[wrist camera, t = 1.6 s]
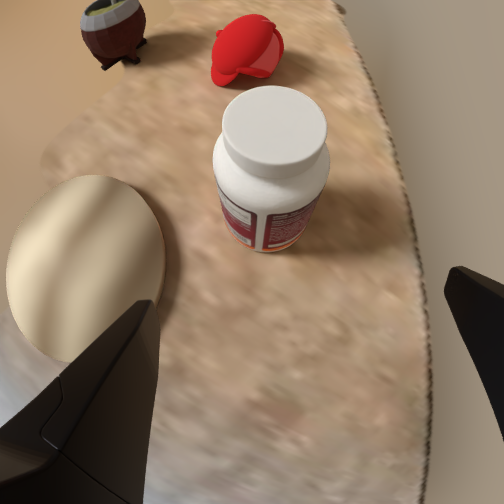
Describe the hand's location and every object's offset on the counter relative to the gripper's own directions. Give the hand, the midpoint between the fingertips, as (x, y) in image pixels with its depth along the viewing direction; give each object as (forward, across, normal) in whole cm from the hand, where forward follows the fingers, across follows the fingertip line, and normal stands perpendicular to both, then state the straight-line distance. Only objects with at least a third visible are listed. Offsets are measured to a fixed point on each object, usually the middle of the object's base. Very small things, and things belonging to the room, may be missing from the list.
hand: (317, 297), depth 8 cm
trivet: (+13, +15, +6) cm, 21 cm away
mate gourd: (+31, +14, -12) cm, 36 cm away
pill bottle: (+15, 0, +4) cm, 16 cm away
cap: (+27, 0, -7) cm, 28 cm away
